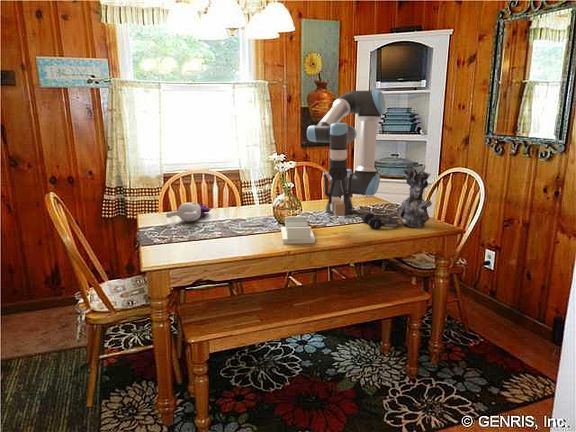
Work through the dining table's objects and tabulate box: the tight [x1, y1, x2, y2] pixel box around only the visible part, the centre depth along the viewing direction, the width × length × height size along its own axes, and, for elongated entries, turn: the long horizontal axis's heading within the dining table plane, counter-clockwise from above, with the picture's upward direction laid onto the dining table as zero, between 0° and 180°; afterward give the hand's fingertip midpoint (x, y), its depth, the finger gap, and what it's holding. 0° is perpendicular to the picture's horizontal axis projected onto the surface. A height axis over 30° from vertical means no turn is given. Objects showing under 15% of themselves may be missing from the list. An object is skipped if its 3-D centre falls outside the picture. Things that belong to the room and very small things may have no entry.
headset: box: [359, 205, 399, 230], centre depth 217 cm, size 14×10×20 cm
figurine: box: [165, 202, 212, 223], centre depth 228 cm, size 16×10×30 cm
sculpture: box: [397, 164, 433, 229], centre depth 214 cm, size 14×15×30 cm
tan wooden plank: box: [330, 197, 346, 217], centre depth 199 cm, size 15×4×5 cm, turn 3°
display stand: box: [280, 215, 316, 245], centre depth 200 cm, size 19×14×7 cm
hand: (337, 210), depth 200 cm, fingers closed on tan wooden plank, 4 cm apart
